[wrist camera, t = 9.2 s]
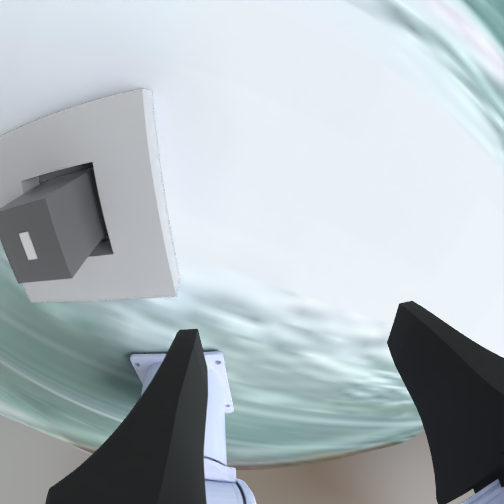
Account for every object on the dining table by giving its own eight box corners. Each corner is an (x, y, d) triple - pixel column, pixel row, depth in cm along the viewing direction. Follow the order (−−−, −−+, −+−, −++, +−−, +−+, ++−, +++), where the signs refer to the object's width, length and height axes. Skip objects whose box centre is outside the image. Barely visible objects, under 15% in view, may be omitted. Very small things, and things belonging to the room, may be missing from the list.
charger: (111, 226, 17) (71, 279, 12) (63, 234, 17) (17, 284, 11) (97, 166, 15) (44, 198, 10) (48, 179, 15) (-9, 214, 10)
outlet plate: (180, 278, 19) (176, 296, 17) (41, 287, 19) (30, 302, 17) (152, 90, 13) (142, 88, 12) (-1, 139, 13) (-19, 145, 11)
